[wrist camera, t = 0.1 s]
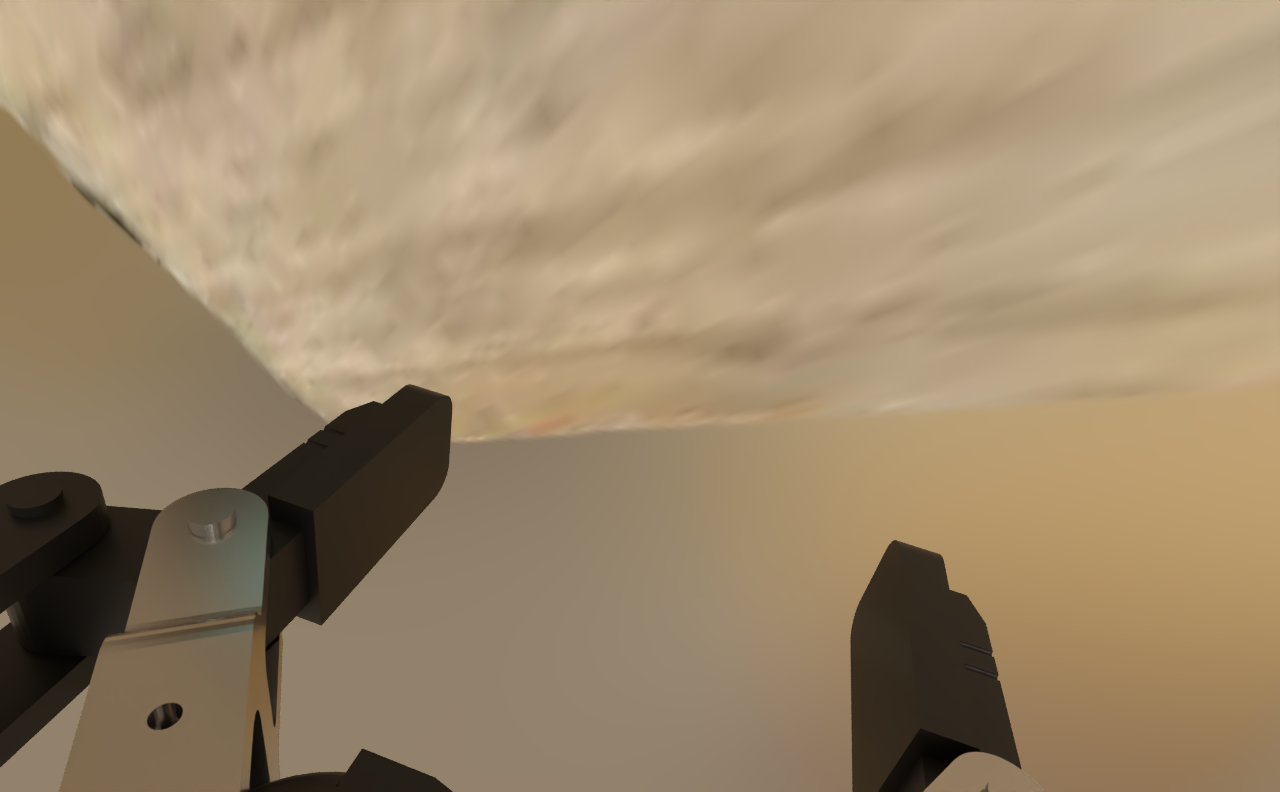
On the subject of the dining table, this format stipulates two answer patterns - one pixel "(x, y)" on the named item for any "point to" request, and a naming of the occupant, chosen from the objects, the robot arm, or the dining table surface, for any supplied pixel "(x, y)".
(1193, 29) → the dining table surface
